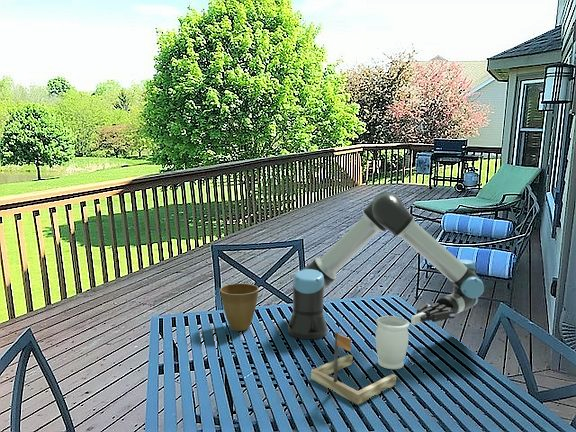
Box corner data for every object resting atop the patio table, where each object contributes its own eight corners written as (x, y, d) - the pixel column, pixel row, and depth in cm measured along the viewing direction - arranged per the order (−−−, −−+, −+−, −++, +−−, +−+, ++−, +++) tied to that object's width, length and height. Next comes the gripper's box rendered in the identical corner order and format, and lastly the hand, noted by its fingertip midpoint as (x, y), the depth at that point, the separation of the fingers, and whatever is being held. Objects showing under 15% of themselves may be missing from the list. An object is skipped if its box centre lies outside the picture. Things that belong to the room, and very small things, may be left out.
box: (348, 362, 157) (350, 311, 154) (395, 384, 143) (398, 328, 140) (311, 379, 146) (312, 323, 143) (357, 405, 132) (360, 344, 129)
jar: (408, 360, 160) (410, 317, 157) (405, 373, 150) (408, 329, 148) (376, 355, 163) (378, 313, 161) (372, 368, 153) (374, 324, 151)
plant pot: (265, 324, 189) (265, 286, 187) (246, 337, 176) (246, 296, 174) (233, 318, 195) (233, 280, 193) (213, 330, 182) (212, 290, 180)
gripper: (465, 319, 172) (429, 337, 157) (433, 310, 182) (396, 325, 167) (466, 300, 171) (430, 315, 156) (434, 291, 181) (397, 305, 166)
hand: (413, 320), depth 161 cm, fingers closed
